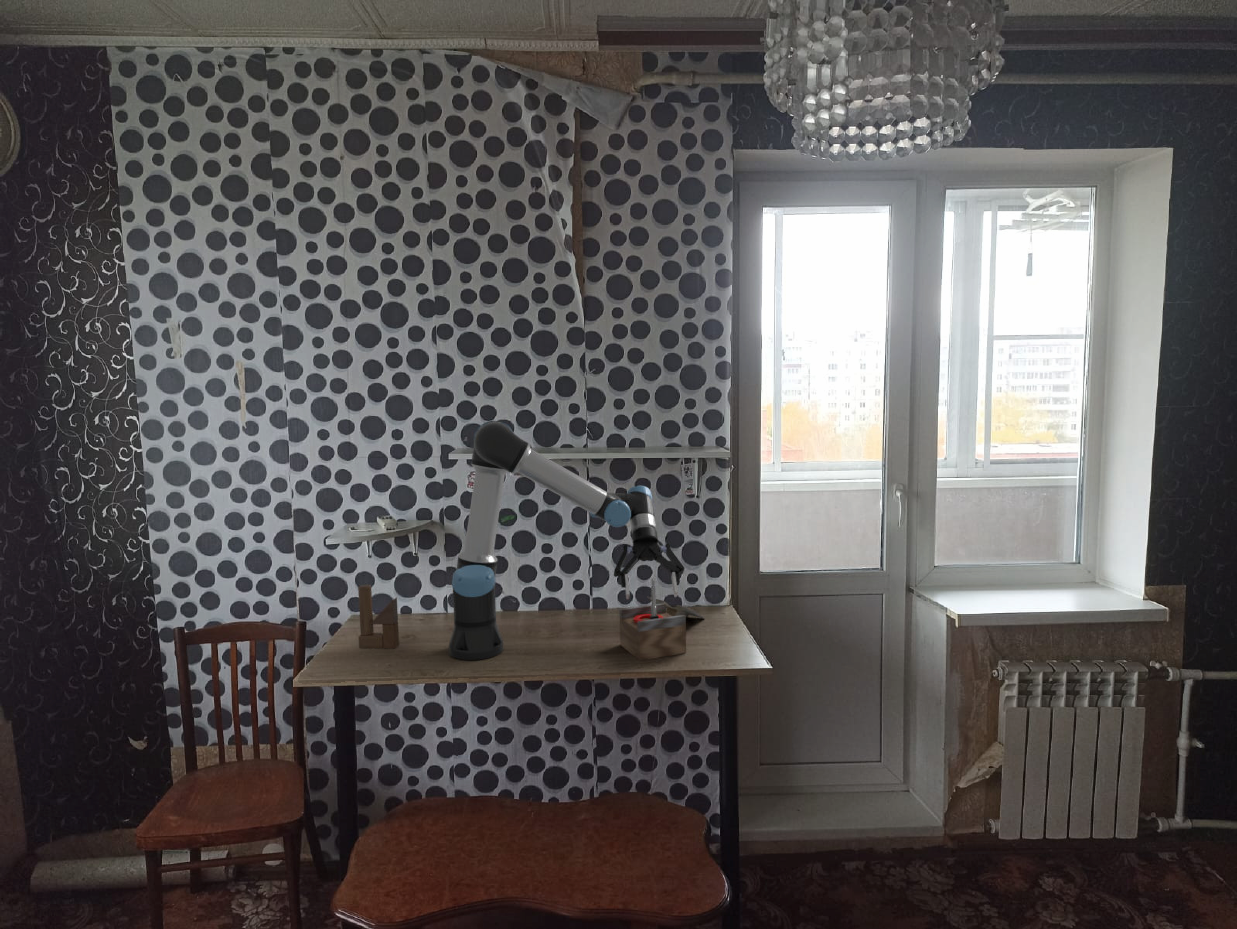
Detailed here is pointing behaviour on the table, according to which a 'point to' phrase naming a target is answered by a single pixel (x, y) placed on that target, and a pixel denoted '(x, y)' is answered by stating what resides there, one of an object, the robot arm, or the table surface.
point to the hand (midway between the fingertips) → (652, 595)
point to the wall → (678, 610)
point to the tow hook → (653, 607)
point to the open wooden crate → (652, 633)
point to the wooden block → (377, 622)
